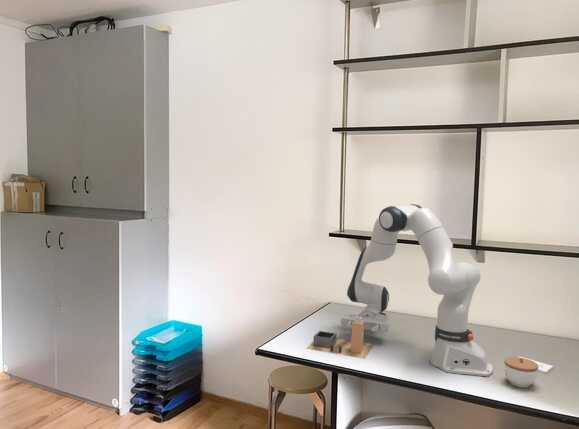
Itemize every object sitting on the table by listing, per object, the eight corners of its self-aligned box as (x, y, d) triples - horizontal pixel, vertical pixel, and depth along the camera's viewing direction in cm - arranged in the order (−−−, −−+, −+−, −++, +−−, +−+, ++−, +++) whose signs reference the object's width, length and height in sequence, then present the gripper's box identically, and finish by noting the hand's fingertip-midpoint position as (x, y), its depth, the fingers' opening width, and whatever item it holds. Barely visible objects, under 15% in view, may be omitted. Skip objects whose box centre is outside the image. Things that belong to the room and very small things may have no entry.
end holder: (336, 342, 203) (336, 333, 202) (331, 348, 196) (331, 339, 195) (319, 339, 205) (319, 330, 205) (313, 345, 198) (313, 336, 198)
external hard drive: (519, 359, 194) (553, 369, 185) (511, 365, 188) (546, 375, 180) (520, 356, 194) (553, 365, 185) (512, 361, 188) (546, 371, 179)
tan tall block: (362, 350, 195) (364, 316, 193) (360, 354, 191) (362, 319, 190) (353, 349, 196) (354, 315, 195) (350, 352, 192) (352, 318, 191)
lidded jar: (540, 384, 170) (542, 358, 170) (530, 393, 163) (532, 366, 162) (509, 374, 178) (511, 350, 177) (498, 383, 170) (500, 357, 169)
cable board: (373, 346, 202) (374, 338, 202) (364, 361, 186) (364, 352, 186) (319, 337, 211) (319, 330, 211) (305, 350, 195) (306, 342, 195)
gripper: (345, 308, 214) (336, 317, 201) (392, 315, 207) (386, 324, 194) (345, 322, 215) (336, 331, 202) (391, 329, 207) (385, 339, 194)
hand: (361, 328), depth 198 cm, fingers open, 8 cm apart
